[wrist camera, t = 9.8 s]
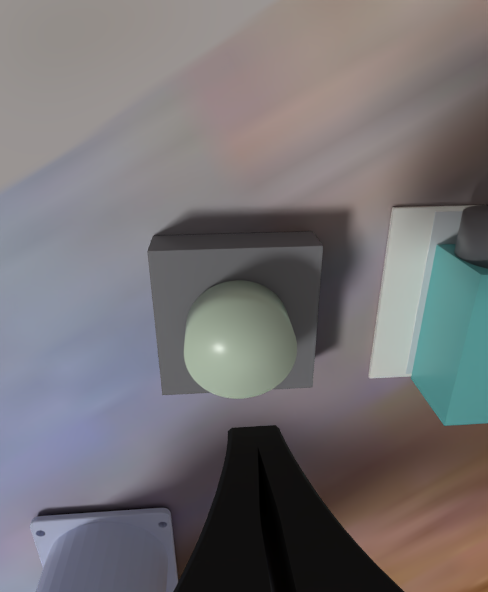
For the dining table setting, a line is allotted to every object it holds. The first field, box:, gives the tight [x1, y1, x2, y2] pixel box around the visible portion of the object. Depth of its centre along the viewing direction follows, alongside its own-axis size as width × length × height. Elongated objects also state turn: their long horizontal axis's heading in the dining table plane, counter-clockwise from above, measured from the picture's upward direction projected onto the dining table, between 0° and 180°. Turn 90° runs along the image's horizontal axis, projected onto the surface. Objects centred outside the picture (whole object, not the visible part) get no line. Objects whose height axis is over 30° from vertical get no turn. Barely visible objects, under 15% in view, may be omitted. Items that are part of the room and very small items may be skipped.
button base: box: [148, 231, 323, 395], centre depth 20 cm, size 7×7×2 cm
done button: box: [184, 280, 297, 399], centre depth 19 cm, size 4×4×3 cm
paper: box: [368, 205, 477, 378], centre depth 21 cm, size 9×8×1 cm
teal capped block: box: [411, 205, 488, 426], centre depth 20 cm, size 9×4×4 cm, turn 0°
